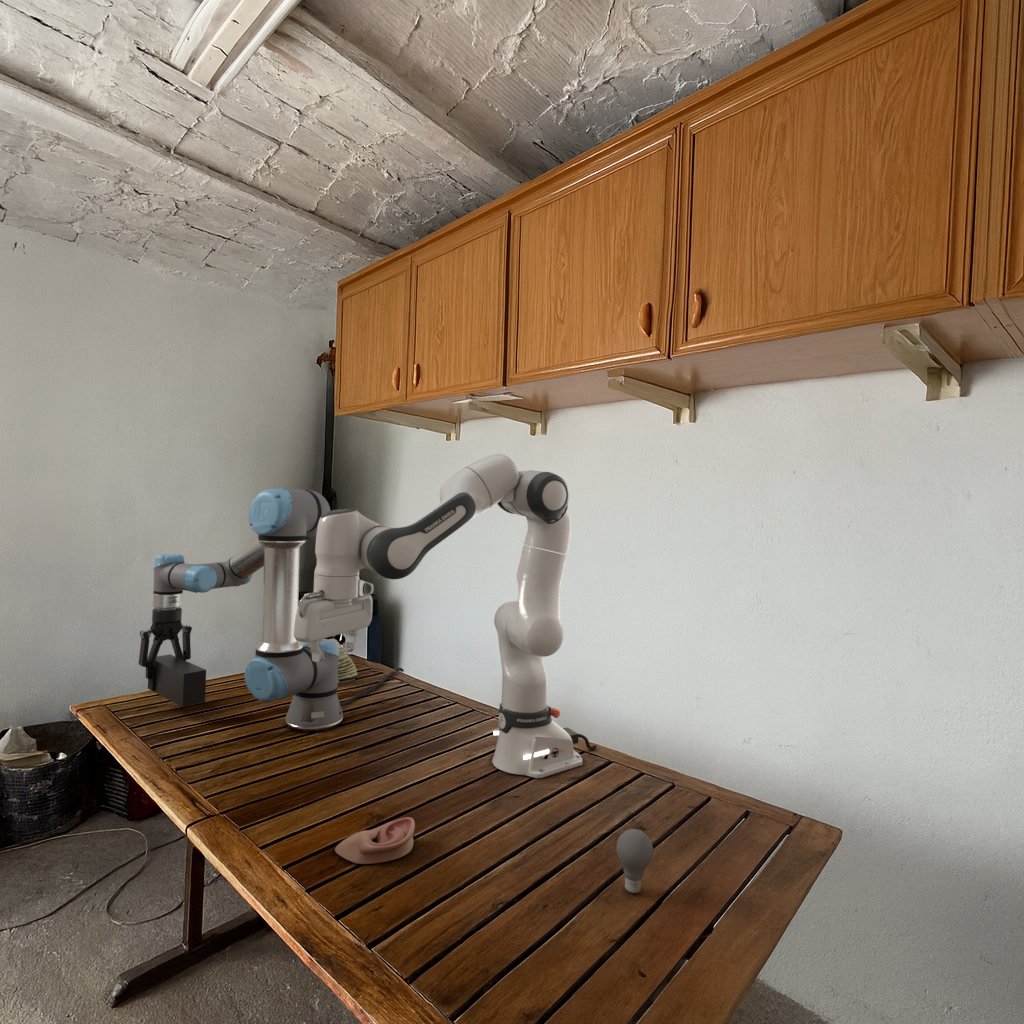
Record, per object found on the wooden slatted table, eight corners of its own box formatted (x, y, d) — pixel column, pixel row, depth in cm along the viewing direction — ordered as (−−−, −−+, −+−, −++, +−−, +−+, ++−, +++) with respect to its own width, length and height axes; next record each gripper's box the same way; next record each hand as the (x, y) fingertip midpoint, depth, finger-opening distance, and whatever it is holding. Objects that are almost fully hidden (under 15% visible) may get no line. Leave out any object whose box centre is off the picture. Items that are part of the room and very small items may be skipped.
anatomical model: (327, 836, 111) (356, 806, 122) (326, 858, 111) (355, 826, 122) (398, 848, 108) (421, 815, 119) (397, 871, 108) (420, 836, 119)
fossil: (297, 682, 213) (299, 637, 212) (348, 673, 225) (349, 631, 225) (308, 688, 206) (310, 642, 206) (360, 679, 218) (361, 636, 218)
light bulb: (610, 879, 108) (613, 822, 108) (644, 879, 109) (647, 822, 109) (619, 902, 102) (622, 840, 102) (655, 901, 103) (658, 840, 103)
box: (147, 688, 183) (148, 657, 183) (169, 684, 188) (170, 654, 188) (182, 707, 170) (183, 673, 169) (205, 702, 174) (206, 669, 174)
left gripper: (137, 613, 173) (133, 697, 174) (206, 606, 188) (203, 683, 189) (126, 609, 178) (122, 690, 178) (194, 602, 193) (191, 677, 193)
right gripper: (313, 596, 118) (310, 669, 118) (378, 584, 137) (375, 648, 137) (287, 592, 120) (284, 664, 121) (354, 581, 139) (352, 644, 139)
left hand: (164, 686), depth 183 cm, fingers closed on box, 6 cm apart
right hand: (333, 656), depth 129 cm, fingers open, 8 cm apart
